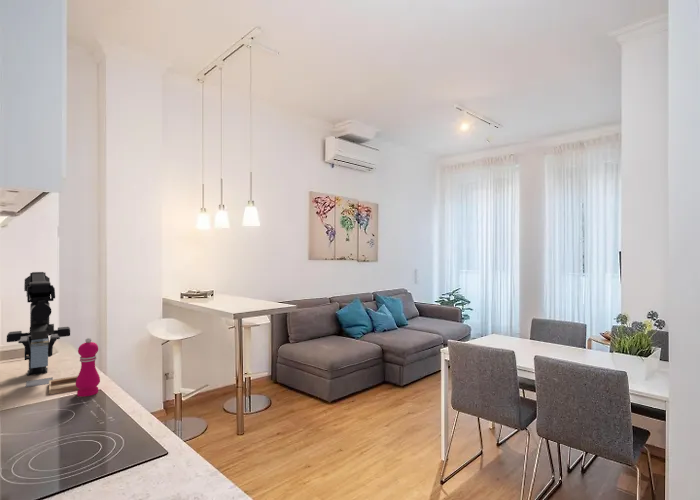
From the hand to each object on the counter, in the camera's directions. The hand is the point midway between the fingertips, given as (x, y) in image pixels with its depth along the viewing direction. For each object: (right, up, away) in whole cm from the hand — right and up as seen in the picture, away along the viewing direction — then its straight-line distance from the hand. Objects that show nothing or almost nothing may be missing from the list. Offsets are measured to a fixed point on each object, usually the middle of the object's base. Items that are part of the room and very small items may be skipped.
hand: (39, 356), depth 149 cm
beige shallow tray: (+13, -10, -4) cm, 17 cm away
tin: (0, -3, 0) cm, 3 cm away
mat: (0, -10, 0) cm, 10 cm away
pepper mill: (+25, -11, -10) cm, 29 cm away
